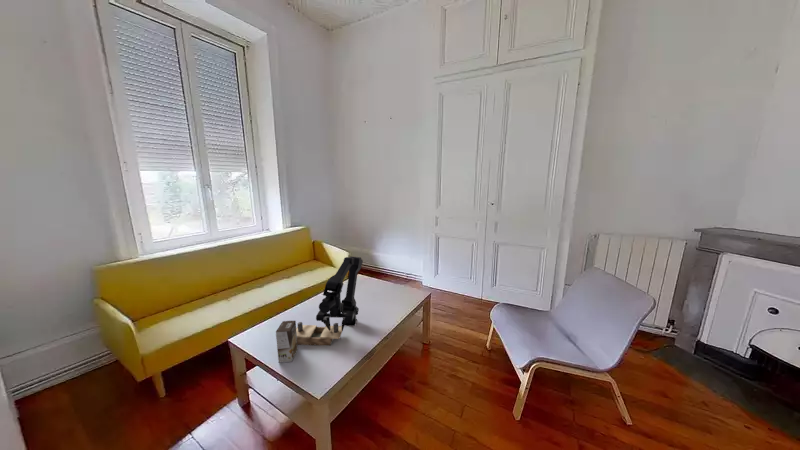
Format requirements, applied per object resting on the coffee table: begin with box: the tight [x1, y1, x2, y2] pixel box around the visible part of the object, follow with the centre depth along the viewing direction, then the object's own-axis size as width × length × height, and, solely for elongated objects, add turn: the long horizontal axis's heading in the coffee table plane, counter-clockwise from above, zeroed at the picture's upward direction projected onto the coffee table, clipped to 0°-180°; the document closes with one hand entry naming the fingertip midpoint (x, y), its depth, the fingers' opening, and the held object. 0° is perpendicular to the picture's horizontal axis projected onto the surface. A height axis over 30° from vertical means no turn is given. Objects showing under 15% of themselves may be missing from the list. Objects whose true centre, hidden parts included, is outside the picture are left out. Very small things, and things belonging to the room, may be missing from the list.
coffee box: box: [275, 320, 299, 363], centre depth 126 cm, size 9×6×16 cm
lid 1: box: [296, 321, 318, 338], centre depth 139 cm, size 10×10×5 cm
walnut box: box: [297, 326, 334, 347], centre depth 140 cm, size 20×10×4 cm, turn 89°
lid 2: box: [320, 322, 343, 340], centre depth 139 cm, size 10×10×5 cm
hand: (336, 330), depth 139 cm, fingers open, 6 cm apart
